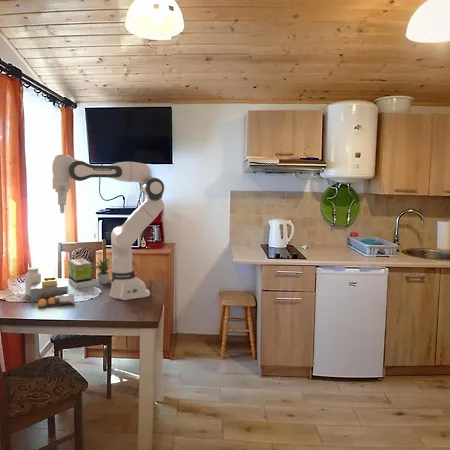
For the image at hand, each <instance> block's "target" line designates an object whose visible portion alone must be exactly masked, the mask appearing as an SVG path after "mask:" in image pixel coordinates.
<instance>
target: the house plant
mask: <svg viewBox="0 0 450 450" xmlns="http://www.w3.org/2000/svg"><path fill="white" fill-rule="evenodd" d="M97 260H98V261H99V262H98V261H95V260H94V263H96V264H97V265H93V264H92V267H94V268H93V271H96V270H98V271H99V272H97V276H98V283H99V284H101V285H106V284H108V282H109V277H110V272H109V271H108V270H109V269H111V268H112V266H111V267H109V266H110V264H112V262H111V261H112V260H111V259H110V257H108V258H105V257H104V258H103V260H102V259H100V258H99V257H97Z"/></svg>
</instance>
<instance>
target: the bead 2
mask: <svg viewBox="0 0 450 450" xmlns="http://www.w3.org/2000/svg"><path fill="white" fill-rule="evenodd" d="M56 302H57V301H56V300H55V298H53V297H51V298H49V299H48V302H47V303H48V304H49V305H54V304H55V303H56Z"/></svg>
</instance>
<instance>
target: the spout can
mask: <svg viewBox="0 0 450 450" xmlns="http://www.w3.org/2000/svg"><path fill="white" fill-rule="evenodd" d="M74 297H75V294H74V293H71V294H69V293H68V295H59V296H55V300H59V301H58V302H59V305H64V304H74V305H75V298H74Z"/></svg>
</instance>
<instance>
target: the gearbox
mask: <svg viewBox="0 0 450 450" xmlns="http://www.w3.org/2000/svg"><path fill="white" fill-rule="evenodd" d="M68 283H69V279H68V280H58V277H57V276H50V277H42V278H41V282H36V283H32V286H31V289H30V290H31V296H30V303H31V304H34V303H38V302H39V300H41V299H45V300H46V301H47V303H48V299H49V298H51V297H53V298H55V296H59V295H68V294H69V284H68ZM56 302H59V300H56Z"/></svg>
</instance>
